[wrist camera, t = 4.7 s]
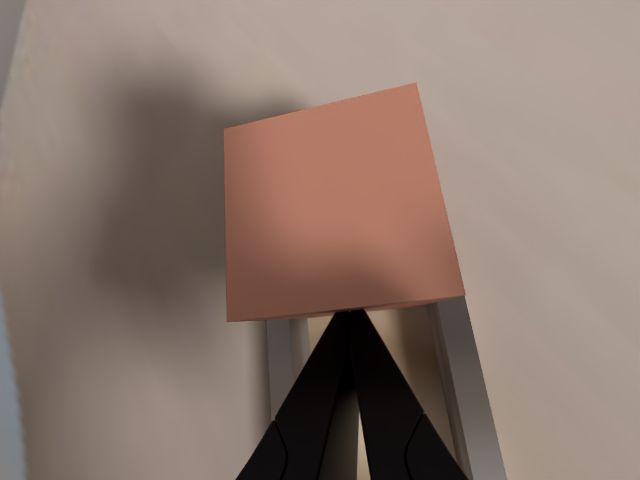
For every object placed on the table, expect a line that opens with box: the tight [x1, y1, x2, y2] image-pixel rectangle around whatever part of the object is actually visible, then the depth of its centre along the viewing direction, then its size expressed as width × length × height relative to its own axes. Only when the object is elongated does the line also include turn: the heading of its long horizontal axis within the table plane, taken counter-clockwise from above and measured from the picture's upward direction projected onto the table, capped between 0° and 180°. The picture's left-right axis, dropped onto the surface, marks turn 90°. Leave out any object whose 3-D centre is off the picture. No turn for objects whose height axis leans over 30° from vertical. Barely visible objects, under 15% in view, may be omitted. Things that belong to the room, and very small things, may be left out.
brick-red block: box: [224, 83, 466, 322], centre depth 11 cm, size 5×5×8 cm
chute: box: [266, 296, 507, 480], centre depth 13 cm, size 16×9×4 cm, turn 6°
